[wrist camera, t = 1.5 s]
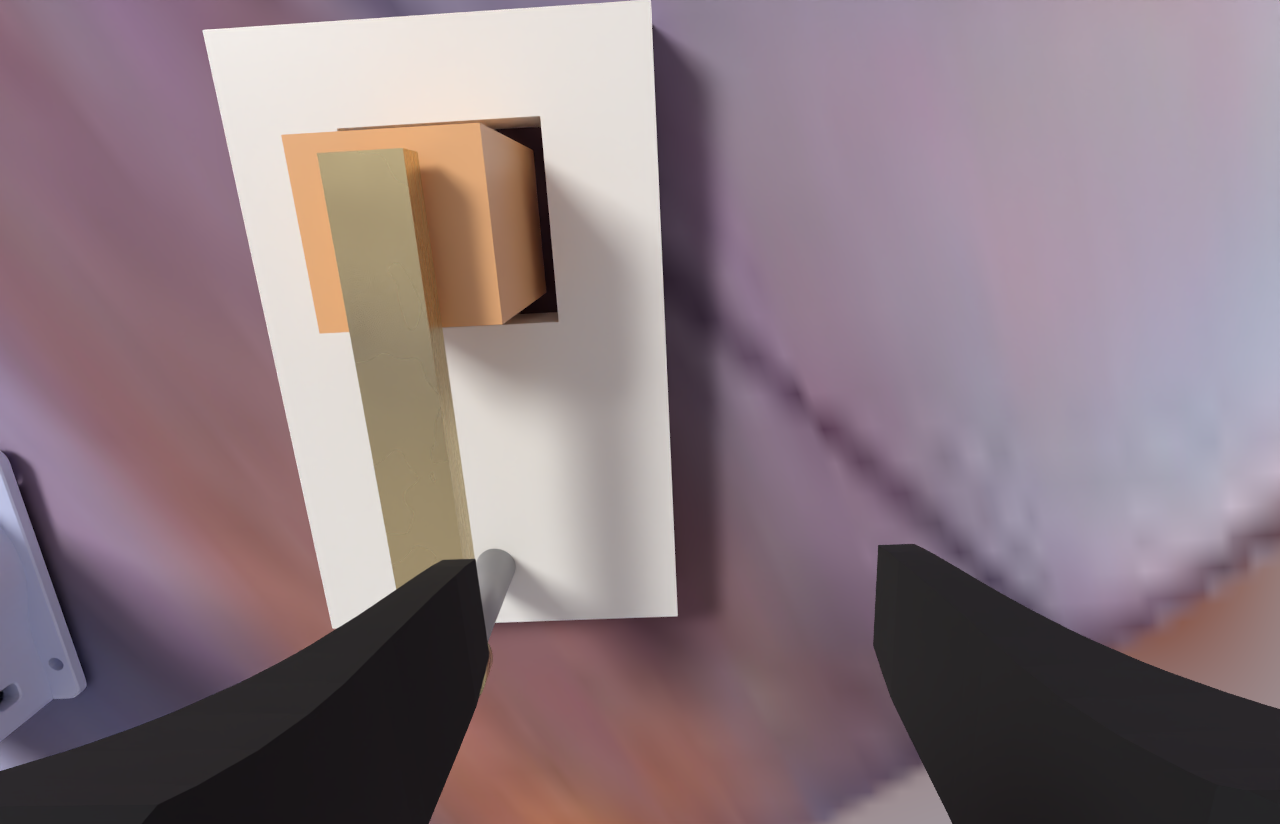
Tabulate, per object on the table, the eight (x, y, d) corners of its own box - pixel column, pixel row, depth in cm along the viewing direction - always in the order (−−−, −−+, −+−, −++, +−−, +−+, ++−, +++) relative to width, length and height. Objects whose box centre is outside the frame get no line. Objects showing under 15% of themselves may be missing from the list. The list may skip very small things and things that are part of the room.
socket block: (675, 581, 23) (683, 713, 17) (359, 593, 23) (256, 726, 17) (651, 22, 18) (650, -74, 12) (250, 49, 18) (53, -31, 12)
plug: (546, 292, 20) (502, 324, 14) (415, 299, 20) (319, 333, 14) (533, 150, 19) (479, 122, 13) (394, 158, 19) (280, 134, 13)
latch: (496, 685, 16) (489, 708, 16) (425, 687, 16) (414, 710, 16) (422, 151, 13) (408, 147, 12) (331, 156, 13) (311, 153, 12)
